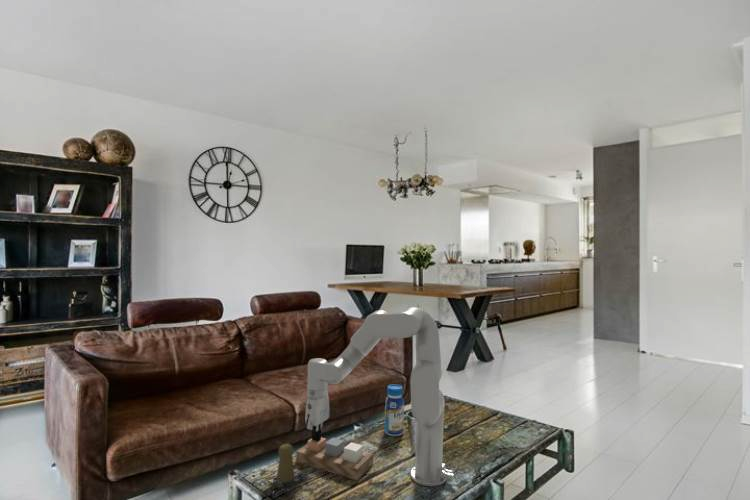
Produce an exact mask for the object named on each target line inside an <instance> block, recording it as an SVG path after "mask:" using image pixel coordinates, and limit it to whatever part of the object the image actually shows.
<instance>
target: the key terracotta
mask: <svg viewBox="0 0 750 500" xmlns="http://www.w3.org/2000/svg"><path fill="white" fill-rule="evenodd" d="M326 441H327V438H326V437H322V436H321V440H319V441H315V440H312V437H311V438H310V439H308V440H307V443H308V450H311V451H315V452H318V453H319V452H321V451H322V450H323V449H324V448H325V443H326Z"/></svg>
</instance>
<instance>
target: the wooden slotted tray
mask: <svg viewBox="0 0 750 500" xmlns="http://www.w3.org/2000/svg"><path fill="white" fill-rule="evenodd" d="M328 441H329V440H328ZM328 441H327V440H326V442H328ZM346 446H347V445H346ZM346 446H345V445H344V448H345V447H346ZM295 455H296V461H295V462H296V463H299V464H302V465H305V466H309V467H312V468H315V469H319V470H323V471H325V472H329V473H331V474H332V473H333V474H334V475H339V476H342V477H346V478H348V479H351V480H355V481H359V479H360V478H361V477H362V476H363V475H364V474H365V473H366V472H367V471H368V470H369V469H370V468H371V467H372V466H373V465H374V453H373V452H368V451H366V450H365V451H364V450H363V458H362V459H361V460H360V461H359V462H358V463H357V464H356V463H353V462H349V461H346V460H344V453H343V454H341V455H340V456H339V457H338V458H335V457H332V456H328V455H325V448H324V449H323V450H322V451H321V452H319V453H318V452H315V451H311V450H308V442H307V443H306V444H305V445H303V446H302V447H300V448H298V449H297V450H296V453H295Z"/></svg>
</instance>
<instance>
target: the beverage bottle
mask: <svg viewBox="0 0 750 500" xmlns="http://www.w3.org/2000/svg"><path fill="white" fill-rule="evenodd" d="M403 392H404V390H403V385H401V384H396V383H395V384H394V383H393V384H389V385H387V387H386V394H387V397H386V398H385V401H384V403H385V406H384V433H385V434H386V435H388V436H389V437H390V436H391V437H399V436H401V435H403V434H404V429H405V428H404V421H405V420H404V418H405V417H404V416H405V406H404V405H405V400H404V398H403V396H402V395H403V394H404V393H403Z"/></svg>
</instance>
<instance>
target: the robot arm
mask: <svg viewBox="0 0 750 500" xmlns="http://www.w3.org/2000/svg"><path fill="white" fill-rule="evenodd" d="M414 336H415V365H414V367H413V369H412V370H411V373H410V381H409V383H410V403H411V405H410V406H411V407H410V408H411V414H412V416H413V418H414V421H416V422H415V456H414V457H415V463H414V465H415V466H414V467H413V468H411V470H410V478H411V479H412V481H414V482H415V483H417V484H419V485H422V486H426V487H436V486H441V485H443V484H444V483H445V482H446V481H447V480H451V481H454V479H455V478H454V477H455V473H453V470H451V469H447V468H446V463H443V456H444V455H443V453H444V452H443V451H444V449H443V447H444V417H445V402H446V401H445V396H444V394H443V392H442V390H440V380H441V378H442V375H443V373H442V371H443V369H442V362H441V361H442V360H441V346H440V333H439V329H438V325H437V322H436V321H435V319H434V318H433V316H432V315H431V314H430V313H429V312H428V311H426V310H424V309H422V308H420V307H417V306H414V307H413V306H412V307H409V308H406V309H405V310H403V311H402V312H396V313H395V312H393V313H389V312H388V311H386V310H383V309H380V310H379V309H377V310H375V311H374V312H372V313H370V314H368V315H367V316H366V318H364V320H363V324H362V325H361V326H360V327H359V328H358V330H356V331H355V332H354V334H353V335H352V336H351V337H350V343H349V344H348V345H347V347H346V348H345V349H343V351H342V353H340V355H338V357H336V358H335V359H334V360H332V361H331V362H328V361H327V360H326V359H325V358H321V357H320V358H319V357H317V358H311V359H309V361H308V363H307V389H306V390H307V391H306V392H307V393H306V395H307V398H306V405H305V414H304V416H305V417H304V419H305V420H304V421H305V424H306V425H307V426H306V429H307V430H311V438H312V440H315V441H319V440H321V437H322V429H323V425H324V422H325V421H327V420H328V419H329V417H330V400H329V399H330V398H329V394H328V384H332V385H333V384H334V385H336V384H339V383H340V382H342V381H343V379H345V378H346V377H347V376H348V375H349V374H351V372H352V371H353V370H354V369H355V368H356V367H357V366H358V365H359V364H360V362H361V361H362V360H363V359H364V358H365V357H366V356H368V355H369V353H370V352H371V351H372V350H373V349H374V347H375V346H376V345H377V344H378V343H379V342H380V341H381V340H382V339H401V338H402V339H406V338H412V337H414Z"/></svg>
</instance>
